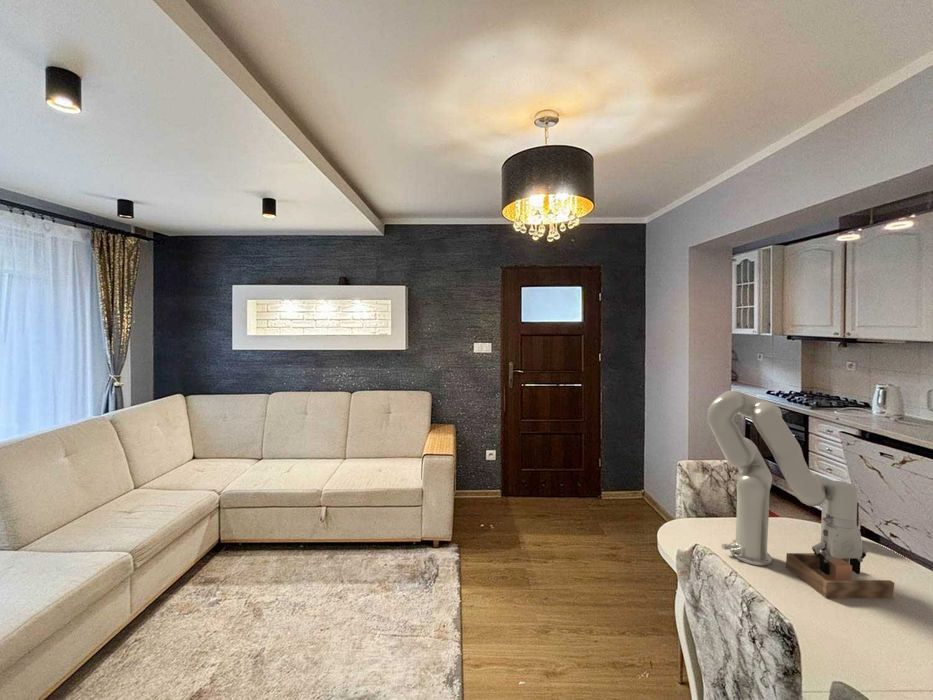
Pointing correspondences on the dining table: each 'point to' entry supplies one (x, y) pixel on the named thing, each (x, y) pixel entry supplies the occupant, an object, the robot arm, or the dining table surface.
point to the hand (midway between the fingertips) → (839, 572)
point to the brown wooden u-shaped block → (836, 588)
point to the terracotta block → (838, 570)
